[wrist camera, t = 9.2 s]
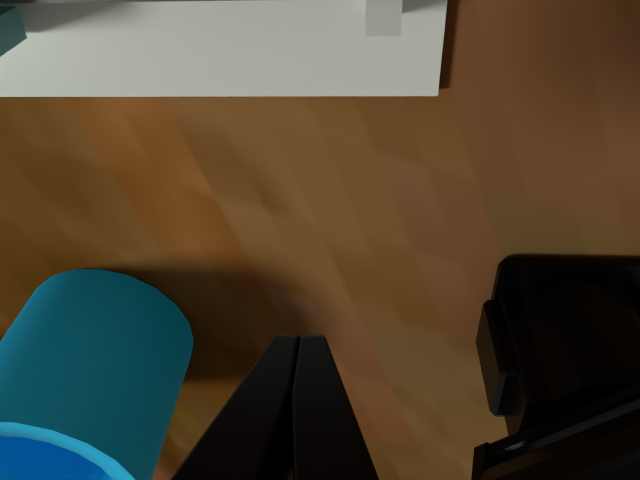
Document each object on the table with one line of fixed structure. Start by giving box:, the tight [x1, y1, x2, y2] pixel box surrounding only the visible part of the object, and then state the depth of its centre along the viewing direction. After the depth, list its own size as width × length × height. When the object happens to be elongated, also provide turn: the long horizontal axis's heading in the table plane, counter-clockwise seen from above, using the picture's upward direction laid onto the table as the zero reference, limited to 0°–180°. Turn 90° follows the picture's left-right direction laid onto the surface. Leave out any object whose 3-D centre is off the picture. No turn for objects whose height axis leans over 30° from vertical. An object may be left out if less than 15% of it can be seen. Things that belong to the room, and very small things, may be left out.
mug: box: [0, 269, 194, 480], centre depth 26 cm, size 12×8×8 cm
